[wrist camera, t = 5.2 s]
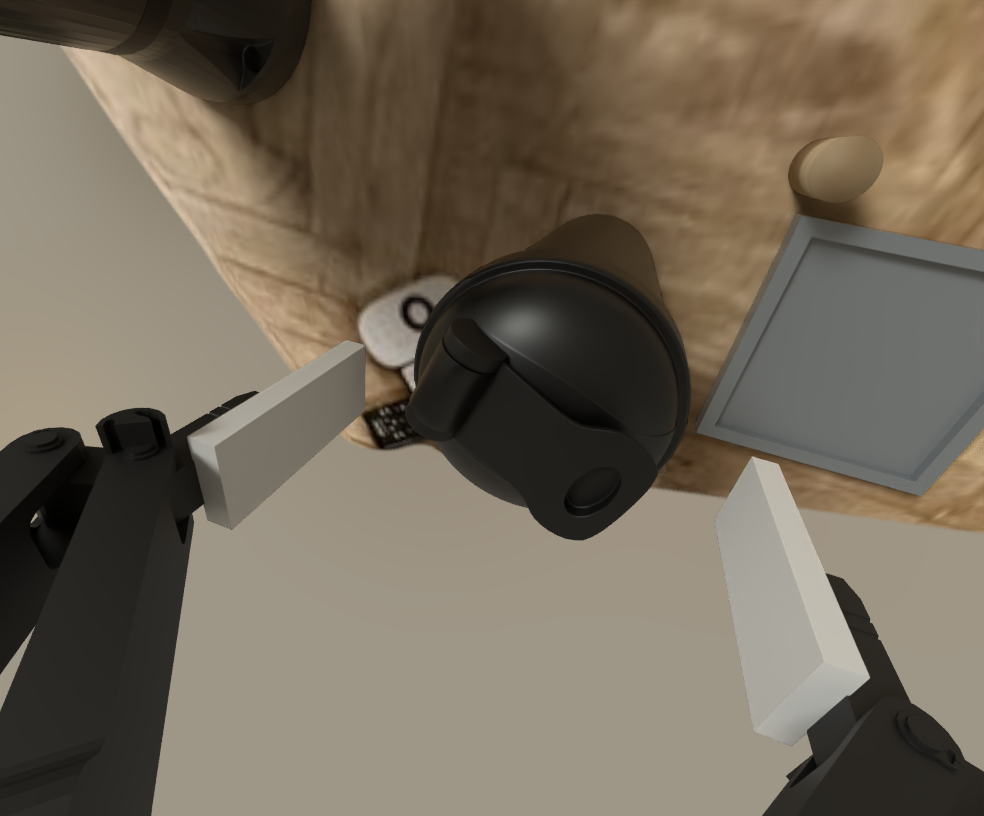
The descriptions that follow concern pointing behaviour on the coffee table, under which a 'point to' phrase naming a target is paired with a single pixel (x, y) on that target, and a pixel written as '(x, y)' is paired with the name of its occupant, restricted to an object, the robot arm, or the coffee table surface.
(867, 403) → the tray
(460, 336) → the water bottle
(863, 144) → the cylinder
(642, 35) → the coffee table surface
